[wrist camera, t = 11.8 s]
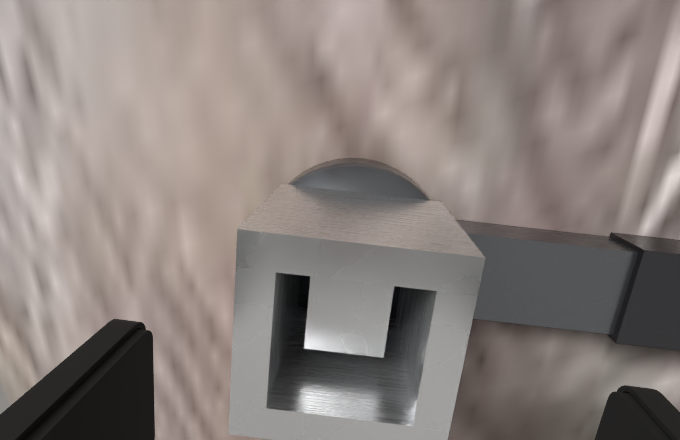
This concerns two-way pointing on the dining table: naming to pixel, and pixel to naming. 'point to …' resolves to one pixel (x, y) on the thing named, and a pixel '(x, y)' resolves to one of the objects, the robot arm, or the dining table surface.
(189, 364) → the dining table surface
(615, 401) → the robot arm
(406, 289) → the socket
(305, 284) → the ratchet
